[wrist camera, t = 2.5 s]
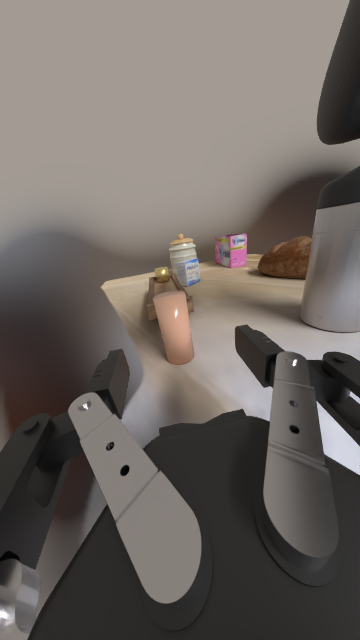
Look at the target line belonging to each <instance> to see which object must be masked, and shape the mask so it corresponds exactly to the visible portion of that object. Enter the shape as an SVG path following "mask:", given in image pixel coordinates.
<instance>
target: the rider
mask: <svg viewBox="0 0 360 640" xmlns="http://www.w3.org/2000/svg"><path fill="white" fill-rule="evenodd" d="M153 301H154V305H155V310H156V314H157V318H158V322H159V327H160V331H161V335H162V339H163V344H164V348H165V352H166V356H167V360H168V361H169V362H170V363H172V364H175V365H181V364H185V363H188V362H189V361H191V360H192V359H193V357H194V349H193V342H192V335H191V328H190V322H189V315H188V308H187V301H186V294H185V292H183V291H168V292H164V293H161V294H158V295H156V296H155V297H154V298H153Z"/></svg>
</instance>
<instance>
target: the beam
mask: <svg viewBox="0 0 360 640" xmlns="http://www.w3.org/2000/svg"><path fill="white" fill-rule="evenodd" d="M169 278H170V281H168V282H165V283H157V279H156V277H150V278H149V281H150V282H149V294H148V304H147V305H146V309H147V313H148V317H149V321H150V320H155V319H158V318H157V314H156V310H155V305H154V301H153V298H154V297H155V296H156V295H158V294H161V293H164V292H168V291H183V292H185V294H186V301H187V308H188V313H190V312H194V309H193V301H192V297H191V296H188V294H187V293H186V291H185V290H184V288H183V286H182V285H181V283H180V282H179V280H178V279H177V277H176V273H172V274H169Z"/></svg>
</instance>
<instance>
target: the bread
mask: <svg viewBox="0 0 360 640" xmlns="http://www.w3.org/2000/svg"><path fill="white" fill-rule="evenodd" d="M311 243H312V237H311V238H309V237H307V236H301V237H296V238H294V239H292V240H291V241H289V242H283V243H279V244H278V245H277V246H274V247H272V248H271V249H270V250H269V251H268V252H266V253H265V254H264V255H263V257H262V258H261V259H260V262H259V265H258V269H259V271H260V272H261V273H263V274H267V275H271V276H275V277H284V278H296V279H306V274H307V268H308V261H309V255H310V249H311Z"/></svg>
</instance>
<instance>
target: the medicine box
mask: <svg viewBox="0 0 360 640" xmlns="http://www.w3.org/2000/svg"><path fill="white" fill-rule="evenodd" d="M176 267H177V273H178V279H179V282H180V283H181V285H182V286H191V285H193V284H194V283H196V282H198V281H200V274H199V264H198V259H197V258H191V259H187V260H184V261H181V262H178V263H176Z"/></svg>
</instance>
